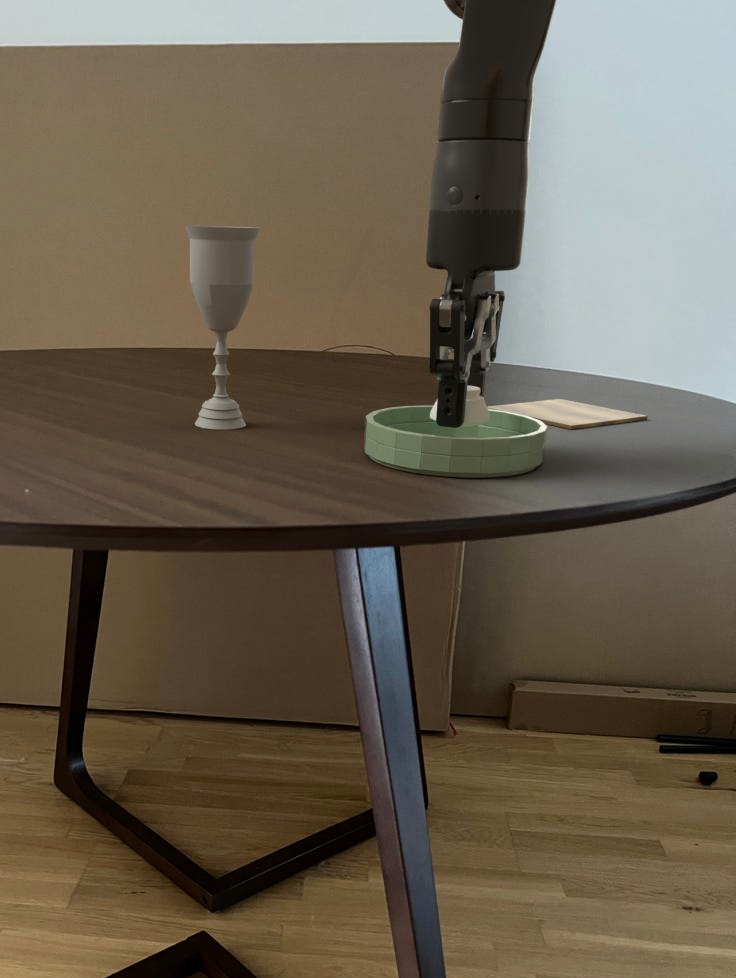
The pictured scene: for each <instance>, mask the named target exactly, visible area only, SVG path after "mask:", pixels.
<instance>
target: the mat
mask: <svg viewBox="0 0 736 978" xmlns="http://www.w3.org/2000/svg"><path fill="white" fill-rule="evenodd" d="M487 408H488V409H491V410H499V411H506V412H511V413H516V414H520V415H525V416H529V417H531V418H534V419H537V420H540V421H542V422H543V423H544V424H545V425H549V426H552V427H553V426H554V427H558V428H562V429H567V430H578V429H584V428H585V429H586V428H594V427H603V426H608V425H615V424H625V423H633V422H640V421H646V420H648V419H649V418H648V417H649V416H648V415H645V414H640V413H635V412H630V411H624V410H619V409H615V408H610V407H604V406H599V405H594V404H588V403H583V402H578V401H573V400H567V399H562V398H554V399H544V400H536V401H526V402H518V403H507V404H498V405H490V406H489V405H488V406H487Z"/></svg>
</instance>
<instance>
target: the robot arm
mask: <svg viewBox="0 0 736 978" xmlns="http://www.w3.org/2000/svg"><path fill="white" fill-rule="evenodd" d="M443 2H444V4H445V6H446V7H447V8H448V10H449V11H450V12H451V13H452V14H453V15H454V16H455V17H457V18H459V19H460V20H462V24H461V31H460V37H459V42H458V44H459V45H458V48H457V51H456V53H455V55H454V57H453V58H452V59H451V60H450V62H449V63H448V65H447V66H446V68H445V70H444V71H445V72H444V75H443V79H442V83H441V91H440V99H439V116H438V131H437V143H436V149H435V150H436V151H435V156H434V160H433V161H434V162H433V167H432V172H431V173H432V174H431V182H430V183H431V185H430V197H429V211H428V227H427V240H426V255H425V263H426V265H427V267H428V268H430V269H432V270H433V269H434V270H445V271H446V272H447V277H446V281H445V287H444V291H443V293H441V295H440V297H439V298H432V299H431V302H430V303H429V367H428V368H429V373H430V375H435V379H436V380H438V389H437V399H438V401H437V400H436V401H437V414H436V423H437V424H438V425H439V426H441V427H451V428H458V427H460V426H462V425H463V423H464V417H465V405H466V394H467V386H475V387H479V388H480V390H481V392H480V395H479V396H481V397H483V398H484V394H485V383H486V375H487V372H489V370H490V368H491V363H494V362H495V360H496V358H497V349H498V342H499V335H500V329H501V323H502V322H501V321H502V314H503V309H504V308H503V307H504V303H505V300H506V295H505V291H504V290H496V275H495V272H504V271H506V272H508V271H515V270H516V269H518V268H519V266H520V265H521V260H522V250H523V242H524V231H525V222H526V213H527V203H528V194H529V193H528V192H529V183H530V140H531V129H532V120H533V112H534V111H533V110H534V100H535V83H536V76H537V72H538V70H539V65H540V61H541V59H542V56H543V53H544V50H545V46H546V43H547V40H548V35H549V32H550V28H551V23H552V20H553V16H554V12H555V8H556V4H557V0H443ZM452 353H453V359H449V356H450V354H452Z"/></svg>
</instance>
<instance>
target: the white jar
mask: <svg viewBox="0 0 736 978" xmlns="http://www.w3.org/2000/svg"><path fill="white" fill-rule="evenodd" d="M480 392H481V390H480V388H479V387H475V386H467V394H466V405H465V417H464V423H463V425H462V426H461V427H466V426H476V425H480V424H483V423H485V422H487V421H489V419H490V414H489V411H488V408H487V407H488V406H487V403H486V401H485V398H484V396H483V397H481V396H479V395H480ZM437 401H438V398H437V399H436V400H435V402H434V404H433V405H434V406H433V408H432V410H431V411H430V418H431V419H433V420H434V421H436V414H437Z"/></svg>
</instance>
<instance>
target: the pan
mask: <svg viewBox="0 0 736 978" xmlns="http://www.w3.org/2000/svg"><path fill="white" fill-rule="evenodd" d="M433 406H434V404H433V405H431V404H429V405H403V406H396V407H395V406H394V407H386V408H382V409H377V410H374V411H371V412H370V413H368V414H367V415H365V417H364V433H363V434H364V436H363V450H364V453H365V454H366V455H367V456H368V457H369V459H371V460H372V461H373V462H375V463H377V464H379V465H382V466H385V467H387V468H391V469H394V470H399V471H404V472H409V473H413V474H420V475H421V474H422V475H429V476H436V477H446V478H447V477H448V478H471V479H475V478H478V479H479V478H481V479H482V478H485V479H486V478H500V477H501V478H502V477H509V476H515V475H516V476H517V475H522V474H525V473H529V472H531V471H533V470H534V469H536V468H537V467H538V466H541V464H542V462H543V460H544V458H545V451H546V442H547V436H548V429H549V427H548V426H547V424H544V423H543V422H542V421H540V420H537V419H534V418H531V417H529V416H525V415H520V414H516V413H511V412H506V411H499V410H491V409H488V411H489V414H490V419H489V421H487V422H485V423H483V424H480V425H476V426H466V427H461V426H460V427H458V428H451V427H441V426H439V425H438V424H437V423H436V421H434V420H433V419H431V418H430V411H431V410H432V408H433Z"/></svg>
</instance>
